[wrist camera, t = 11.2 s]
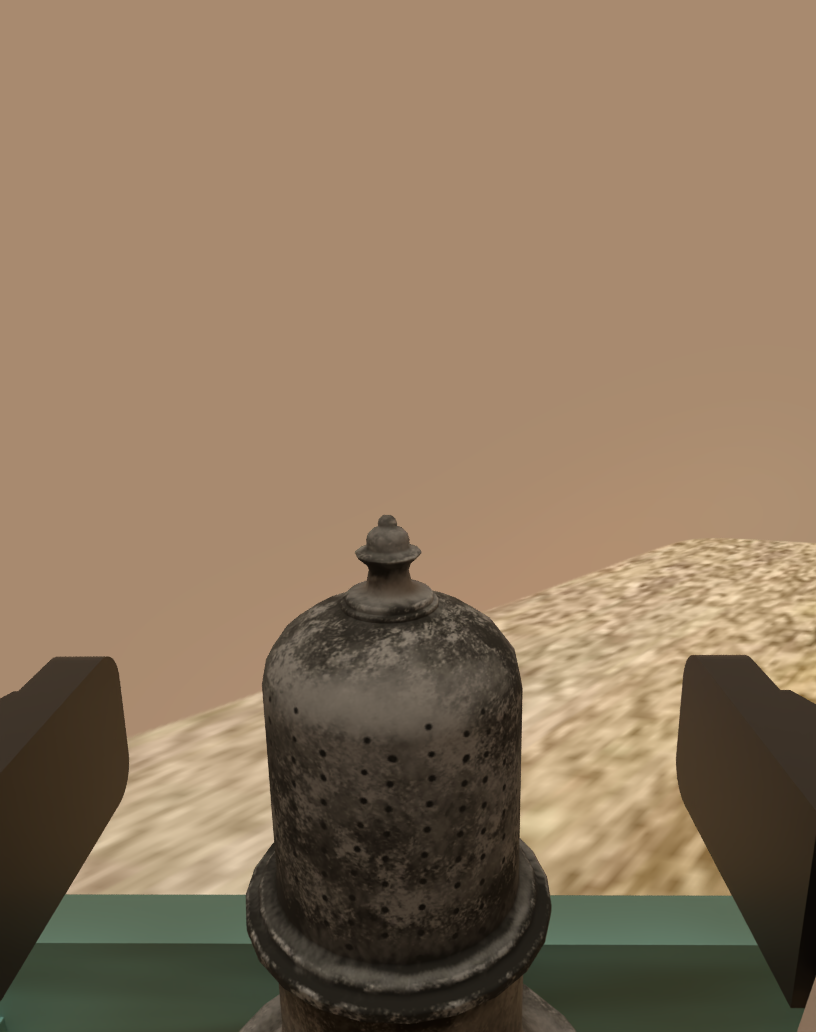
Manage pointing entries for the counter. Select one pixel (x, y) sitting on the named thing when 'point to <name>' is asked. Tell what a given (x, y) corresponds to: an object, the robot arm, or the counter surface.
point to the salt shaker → (396, 817)
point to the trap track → (248, 985)
